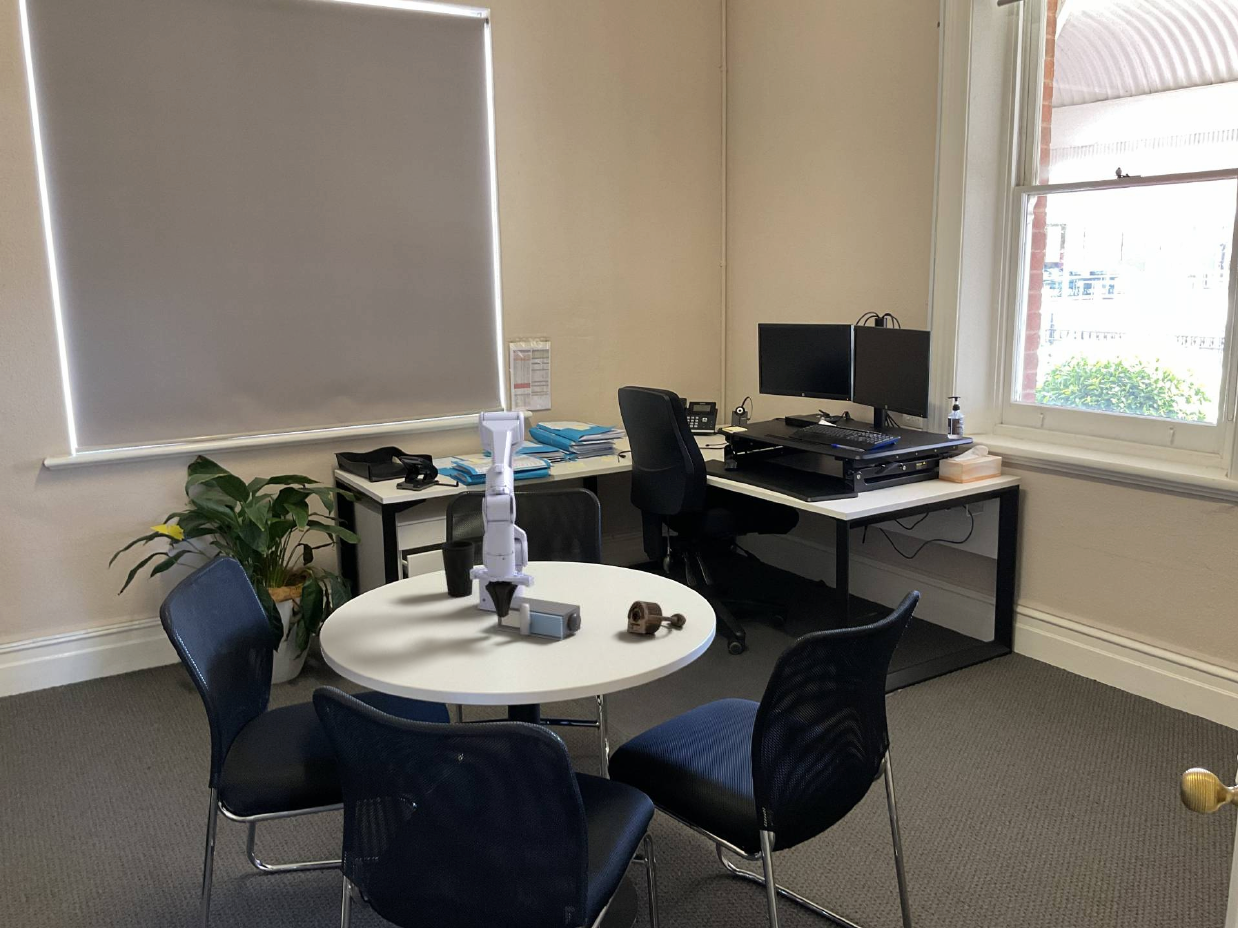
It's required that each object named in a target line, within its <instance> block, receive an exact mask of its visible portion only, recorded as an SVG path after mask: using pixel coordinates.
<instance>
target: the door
mask: <svg viewBox="0 0 1238 928" xmlns="http://www.w3.org/2000/svg"><path fill="white" fill-rule="evenodd" d="M519 609H520V635H523V636H525V635H526V636H528V635H527V634H530V632H532V633H538V634H544V635H550V636H555V637H563V624H562V617H559V616H553V615H546V614H540V613H533V612H529V604H527V603H523V604H520V605H519Z"/></svg>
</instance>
